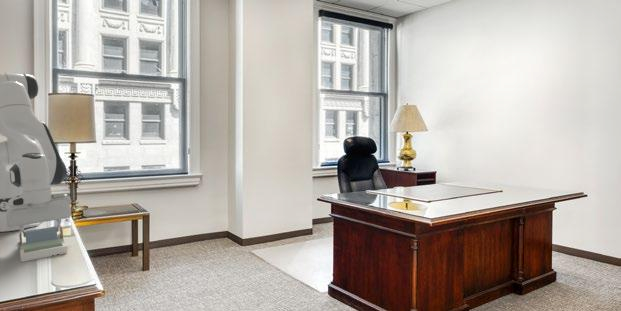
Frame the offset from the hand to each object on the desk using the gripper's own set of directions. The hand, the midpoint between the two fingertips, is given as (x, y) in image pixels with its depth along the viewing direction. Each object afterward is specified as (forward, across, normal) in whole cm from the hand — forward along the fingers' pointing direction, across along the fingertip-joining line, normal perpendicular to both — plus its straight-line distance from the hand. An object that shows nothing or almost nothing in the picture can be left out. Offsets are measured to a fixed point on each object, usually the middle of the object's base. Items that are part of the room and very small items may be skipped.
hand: (41, 234), depth 154 cm
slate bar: (+2, 0, +3) cm, 3 cm away
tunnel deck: (+4, 0, +2) cm, 5 cm away
